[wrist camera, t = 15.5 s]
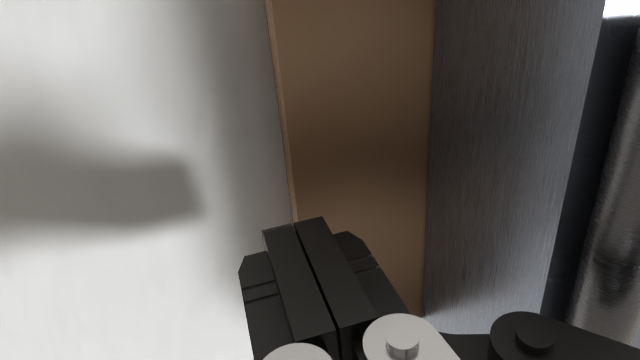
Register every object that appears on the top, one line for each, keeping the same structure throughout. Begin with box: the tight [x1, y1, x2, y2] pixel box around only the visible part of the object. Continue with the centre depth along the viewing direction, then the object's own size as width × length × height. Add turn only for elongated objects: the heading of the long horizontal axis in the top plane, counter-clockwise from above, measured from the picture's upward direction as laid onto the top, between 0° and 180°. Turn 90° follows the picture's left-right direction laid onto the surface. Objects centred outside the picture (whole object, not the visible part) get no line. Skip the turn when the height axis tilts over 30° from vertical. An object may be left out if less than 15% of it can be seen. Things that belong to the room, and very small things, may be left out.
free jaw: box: [422, 0, 640, 349], centre depth 11 cm, size 12×5×6 cm, turn 5°
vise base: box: [265, 0, 436, 318], centre depth 13 cm, size 12×17×6 cm
